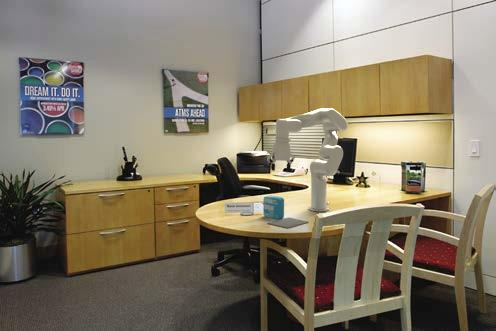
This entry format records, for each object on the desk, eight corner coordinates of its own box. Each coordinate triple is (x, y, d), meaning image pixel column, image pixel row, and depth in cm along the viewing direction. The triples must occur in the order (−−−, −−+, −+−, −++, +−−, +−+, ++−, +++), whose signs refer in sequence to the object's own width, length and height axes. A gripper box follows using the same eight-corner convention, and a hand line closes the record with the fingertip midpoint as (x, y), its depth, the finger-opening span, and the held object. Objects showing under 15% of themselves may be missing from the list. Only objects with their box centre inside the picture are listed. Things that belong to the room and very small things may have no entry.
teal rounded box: (263, 216, 231) (263, 196, 229) (268, 215, 234) (268, 195, 233) (279, 219, 222) (279, 198, 221) (284, 218, 226) (284, 197, 225)
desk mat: (288, 218, 225) (288, 217, 225) (308, 222, 215) (308, 221, 215) (267, 223, 213) (267, 222, 213) (287, 228, 203) (287, 227, 203)
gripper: (292, 141, 232) (291, 170, 233) (265, 140, 226) (264, 170, 227) (298, 141, 225) (297, 171, 226) (271, 140, 219) (269, 171, 220)
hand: (280, 170), depth 226 cm, fingers open, 9 cm apart
